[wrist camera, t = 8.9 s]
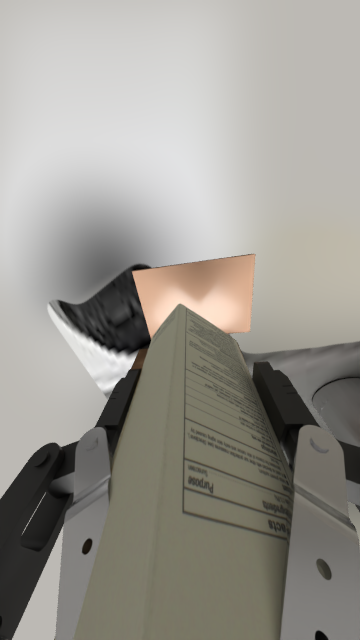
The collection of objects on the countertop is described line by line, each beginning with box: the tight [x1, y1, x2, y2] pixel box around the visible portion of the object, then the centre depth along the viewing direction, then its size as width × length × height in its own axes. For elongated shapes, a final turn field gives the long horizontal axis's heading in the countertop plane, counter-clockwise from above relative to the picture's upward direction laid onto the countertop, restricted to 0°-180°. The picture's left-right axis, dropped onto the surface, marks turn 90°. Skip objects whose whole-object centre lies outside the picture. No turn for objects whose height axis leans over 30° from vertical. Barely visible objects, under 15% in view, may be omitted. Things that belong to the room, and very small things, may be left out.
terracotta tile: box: [132, 254, 255, 339], centre depth 21 cm, size 14×10×1 cm
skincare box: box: [54, 304, 325, 640], centre depth 9 cm, size 6×4×12 cm
